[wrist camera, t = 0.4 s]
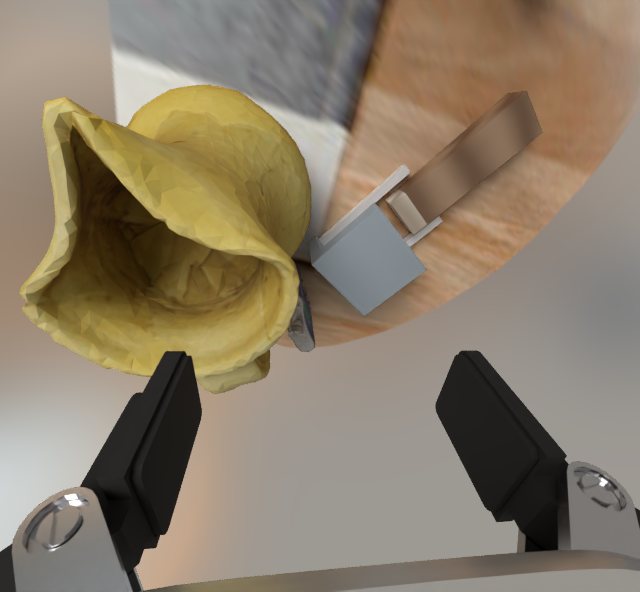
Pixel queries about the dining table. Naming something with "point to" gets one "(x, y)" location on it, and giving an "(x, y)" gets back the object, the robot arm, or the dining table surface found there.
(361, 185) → the dining table surface
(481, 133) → the walnut slat
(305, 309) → the flask
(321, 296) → the dining table surface
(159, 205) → the pitcher
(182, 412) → the robot arm
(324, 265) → the grey block with rails
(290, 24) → the dining table surface
